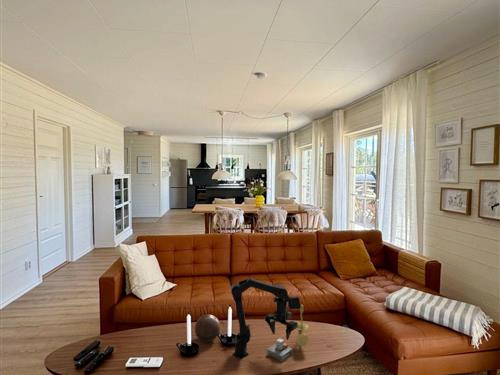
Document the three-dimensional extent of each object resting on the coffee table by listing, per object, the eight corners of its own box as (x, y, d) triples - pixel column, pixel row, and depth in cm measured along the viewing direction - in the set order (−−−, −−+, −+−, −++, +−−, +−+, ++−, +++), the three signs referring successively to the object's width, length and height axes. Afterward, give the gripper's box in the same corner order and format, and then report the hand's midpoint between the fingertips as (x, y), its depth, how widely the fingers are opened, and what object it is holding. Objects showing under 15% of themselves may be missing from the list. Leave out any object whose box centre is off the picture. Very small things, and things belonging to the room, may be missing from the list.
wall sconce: (310, 352, 175) (312, 308, 175) (293, 351, 176) (295, 308, 175) (306, 339, 189) (307, 299, 189) (291, 339, 189) (292, 298, 189)
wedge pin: (280, 356, 170) (280, 342, 170) (275, 354, 172) (276, 340, 172) (283, 354, 173) (283, 340, 173) (278, 352, 175) (279, 338, 175)
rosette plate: (282, 361, 166) (282, 353, 166) (267, 354, 172) (267, 346, 172) (292, 353, 173) (292, 346, 173) (277, 347, 180) (277, 339, 180)
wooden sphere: (222, 344, 182) (223, 319, 181) (197, 348, 176) (198, 322, 176) (215, 332, 195) (216, 309, 195) (192, 336, 190) (192, 312, 190)
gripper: (303, 309, 172) (302, 337, 173) (275, 300, 184) (275, 326, 185) (292, 315, 164) (291, 344, 164) (264, 306, 176) (263, 333, 176)
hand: (280, 336), depth 173 cm, fingers open, 9 cm apart
